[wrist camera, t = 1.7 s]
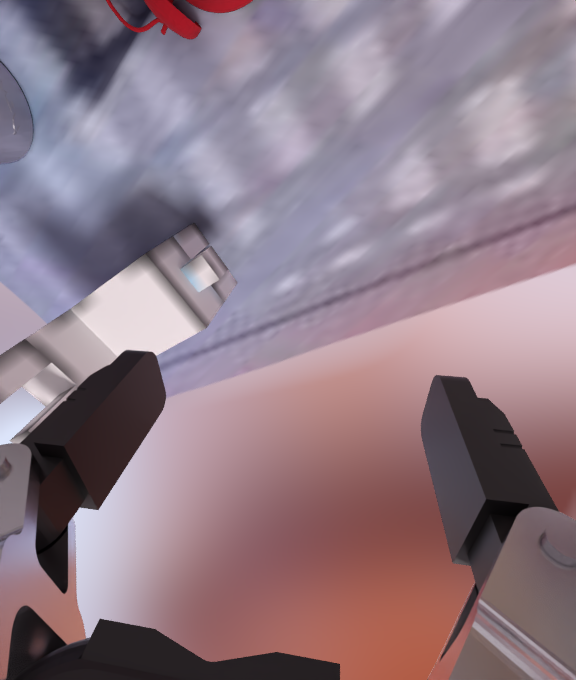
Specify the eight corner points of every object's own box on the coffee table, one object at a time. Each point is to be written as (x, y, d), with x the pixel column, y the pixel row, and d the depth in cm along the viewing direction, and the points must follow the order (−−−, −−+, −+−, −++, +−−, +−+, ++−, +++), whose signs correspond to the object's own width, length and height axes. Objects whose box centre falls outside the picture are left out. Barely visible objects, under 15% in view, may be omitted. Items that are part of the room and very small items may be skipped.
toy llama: (255, 272, 36) (178, 396, 19) (146, 336, 43) (20, 469, 26) (212, 209, 33) (78, 292, 17) (103, 289, 40) (-71, 404, 23)
